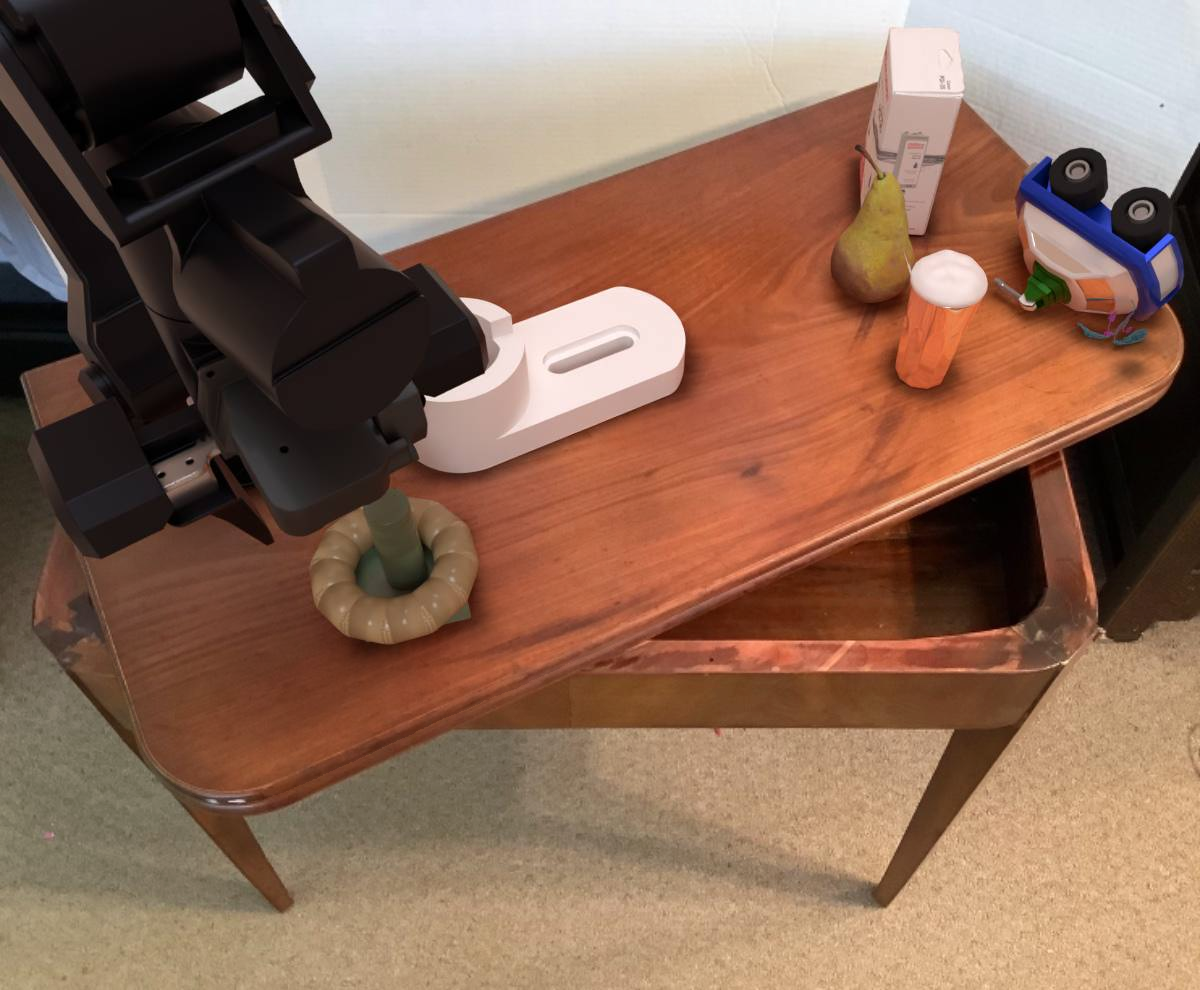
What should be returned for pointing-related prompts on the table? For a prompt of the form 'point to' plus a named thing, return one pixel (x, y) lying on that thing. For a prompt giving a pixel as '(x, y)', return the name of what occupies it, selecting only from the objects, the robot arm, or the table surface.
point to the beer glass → (937, 315)
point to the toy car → (1093, 240)
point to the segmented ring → (406, 612)
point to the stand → (396, 552)
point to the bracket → (554, 377)
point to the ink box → (914, 116)
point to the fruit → (875, 244)
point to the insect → (1132, 338)
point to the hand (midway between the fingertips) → (316, 513)
